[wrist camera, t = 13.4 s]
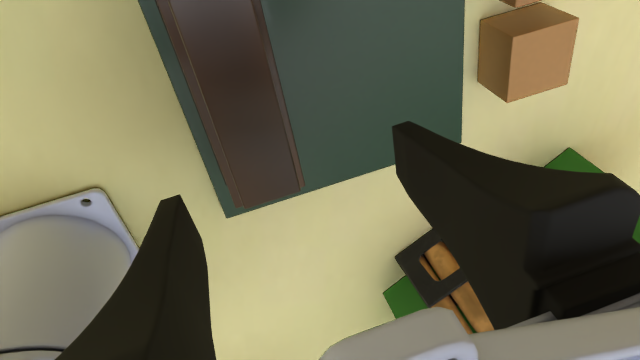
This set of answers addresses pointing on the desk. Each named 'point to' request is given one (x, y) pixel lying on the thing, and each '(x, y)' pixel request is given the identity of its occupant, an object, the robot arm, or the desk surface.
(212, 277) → the desk surface
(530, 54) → the cardboard box
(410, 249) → the ammunition clip
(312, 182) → the desk board
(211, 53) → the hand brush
